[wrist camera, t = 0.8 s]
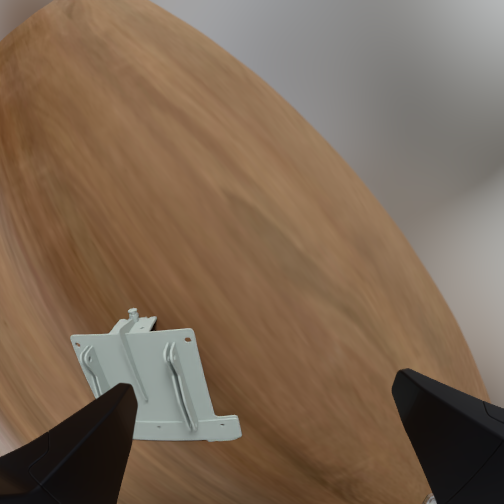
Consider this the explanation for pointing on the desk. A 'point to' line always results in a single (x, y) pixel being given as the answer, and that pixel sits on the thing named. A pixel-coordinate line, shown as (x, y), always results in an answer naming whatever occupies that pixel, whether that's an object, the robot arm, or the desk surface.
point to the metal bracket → (155, 379)
